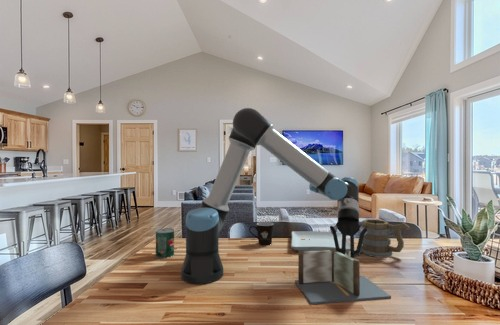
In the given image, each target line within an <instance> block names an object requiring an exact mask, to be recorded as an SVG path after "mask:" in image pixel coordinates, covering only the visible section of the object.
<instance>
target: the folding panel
mask: <svg viewBox="0 0 500 325" xmlns="http://www.w3.org/2000/svg"><path fill="white" fill-rule="evenodd" d="M360 264H361V263H360V259H357V258H355V257H354V258H351V257H349V256H348V254H347V255H345V254H342V253H340V252H338V251H337V252H334V282H335V283H336V284H338V285H340V286H341V287H343V288H345V289H346V290H348V291H350V292H352V293H353V294H354V295H360V276H361V274H360V271H361V269H360V267H361V266H360Z"/></svg>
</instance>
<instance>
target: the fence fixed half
mask: <svg viewBox="0 0 500 325" xmlns="http://www.w3.org/2000/svg"><path fill="white" fill-rule="evenodd" d="M334 252H336V250H335V249H330V250H319V251H297V254H298V256H297V258H298V261H297V263H298V275H297V276H298V279H297V280H298V283H299V284H304V283H312V282H327V281H331V282H334Z"/></svg>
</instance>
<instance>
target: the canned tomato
mask: <svg viewBox="0 0 500 325" xmlns="http://www.w3.org/2000/svg"><path fill="white" fill-rule="evenodd" d="M173 255H174V256H175V229H174V228H167V227H166V228H158V229H156V230H155V258H157V257H158V258H157V259H168V258H167V257H169V258H172V257H174V256H173ZM171 256H172V257H171Z"/></svg>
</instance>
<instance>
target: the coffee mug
mask: <svg viewBox="0 0 500 325" xmlns="http://www.w3.org/2000/svg"><path fill="white" fill-rule="evenodd" d="M274 224H275V223H274V222H269V221H260V222H257V223H256V226H255V225H251V226H250V227H249V229H248V231H249V233H250V234H251V235H252V236H254V237H255V238H257V240H258V241H257V242H258V245H259V244H260V245H259V246H262V245H269V246H271V245H272V244H273V243H272V241H273V234H274V233H273V232H274V226H275V225H274ZM252 228H255V230H256V231H257V235H255V234H254V233H253V232H252V231H251V229H252ZM270 244H271V245H270Z"/></svg>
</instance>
